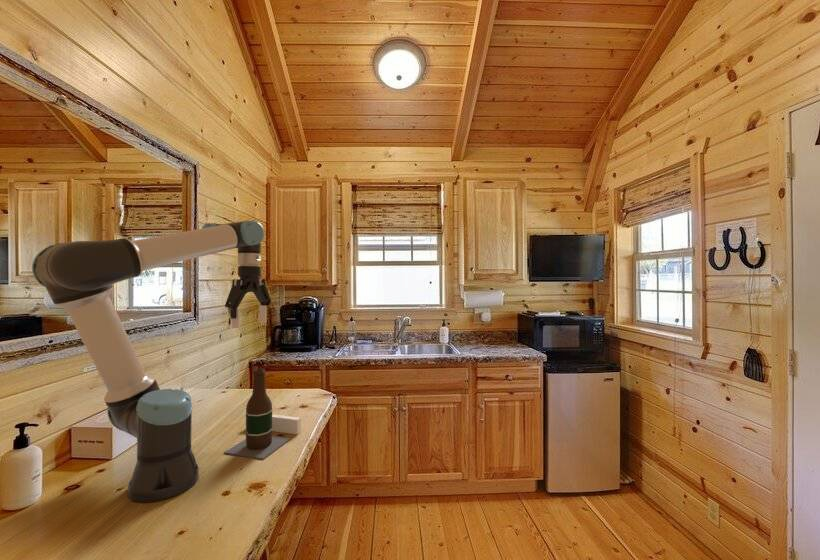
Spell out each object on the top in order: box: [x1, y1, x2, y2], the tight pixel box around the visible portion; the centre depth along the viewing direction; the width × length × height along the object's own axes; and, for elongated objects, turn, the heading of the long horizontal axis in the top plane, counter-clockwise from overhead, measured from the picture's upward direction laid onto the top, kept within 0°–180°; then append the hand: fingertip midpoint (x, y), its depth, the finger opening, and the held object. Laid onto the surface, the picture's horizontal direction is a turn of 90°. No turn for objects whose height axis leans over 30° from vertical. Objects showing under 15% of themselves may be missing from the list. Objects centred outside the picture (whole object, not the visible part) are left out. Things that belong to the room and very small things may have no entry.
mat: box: [223, 435, 292, 461], centre depth 115 cm, size 14×14×1 cm
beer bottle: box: [245, 368, 273, 450], centre depth 115 cm, size 8×8×24 cm
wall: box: [272, 413, 302, 435], centre depth 127 cm, size 2×20×5 cm, turn 75°
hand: (249, 325), depth 128 cm, fingers open, 13 cm apart
